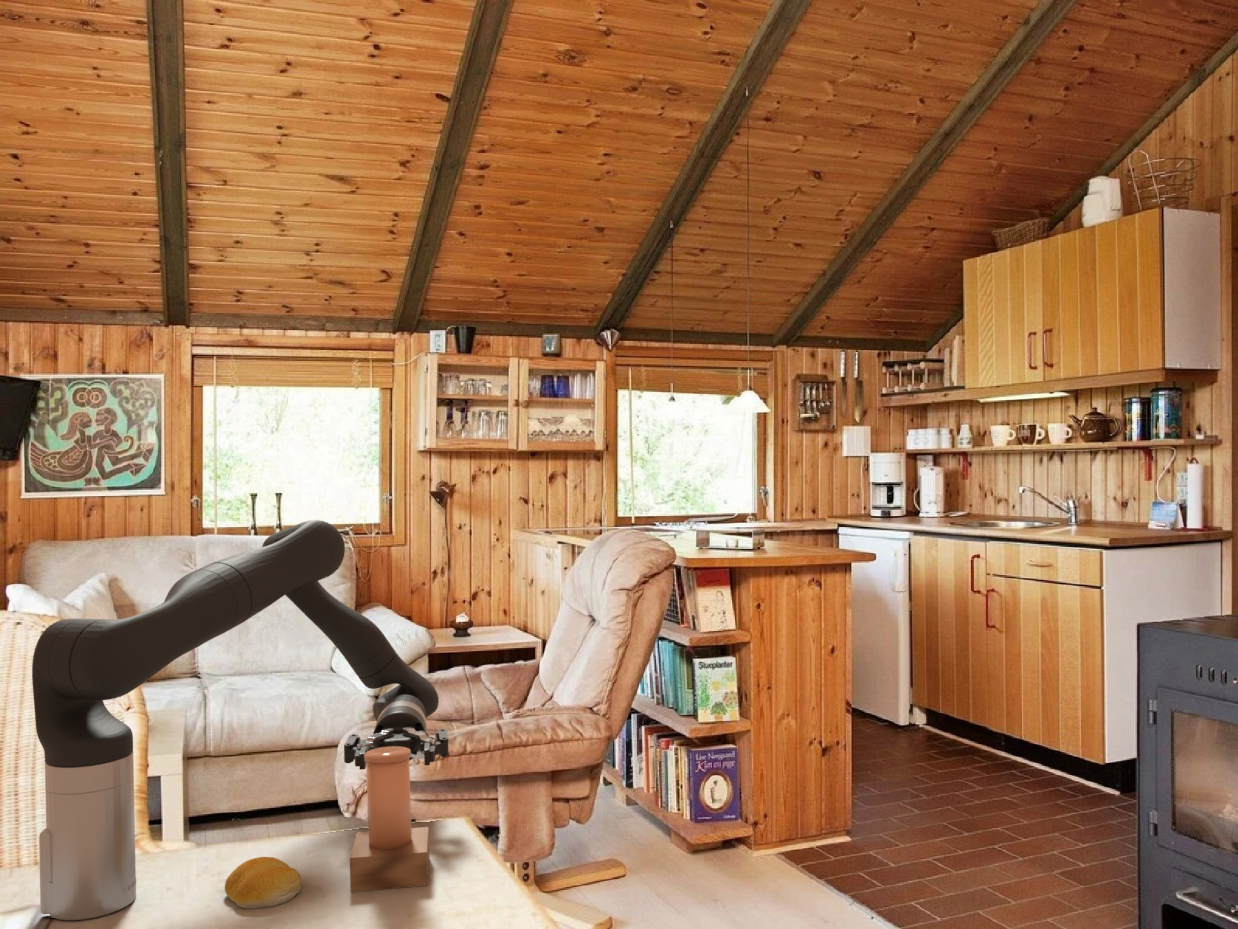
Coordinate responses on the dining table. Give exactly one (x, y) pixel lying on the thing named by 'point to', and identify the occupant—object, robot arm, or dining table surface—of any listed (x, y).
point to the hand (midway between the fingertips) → (394, 760)
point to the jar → (388, 797)
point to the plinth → (389, 863)
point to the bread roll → (262, 883)
